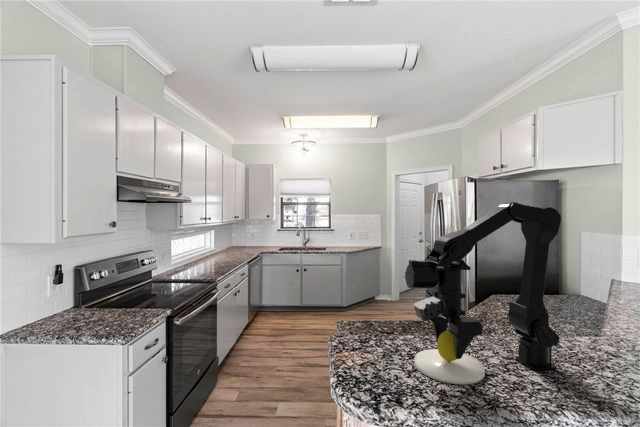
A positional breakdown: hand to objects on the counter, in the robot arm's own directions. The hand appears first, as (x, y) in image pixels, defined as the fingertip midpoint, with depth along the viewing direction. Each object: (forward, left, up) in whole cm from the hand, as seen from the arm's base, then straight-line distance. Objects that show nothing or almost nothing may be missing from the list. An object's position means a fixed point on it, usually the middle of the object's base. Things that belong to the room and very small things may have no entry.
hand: (448, 351), depth 80 cm
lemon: (0, 0, -3) cm, 3 cm away
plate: (0, 0, -4) cm, 4 cm away
